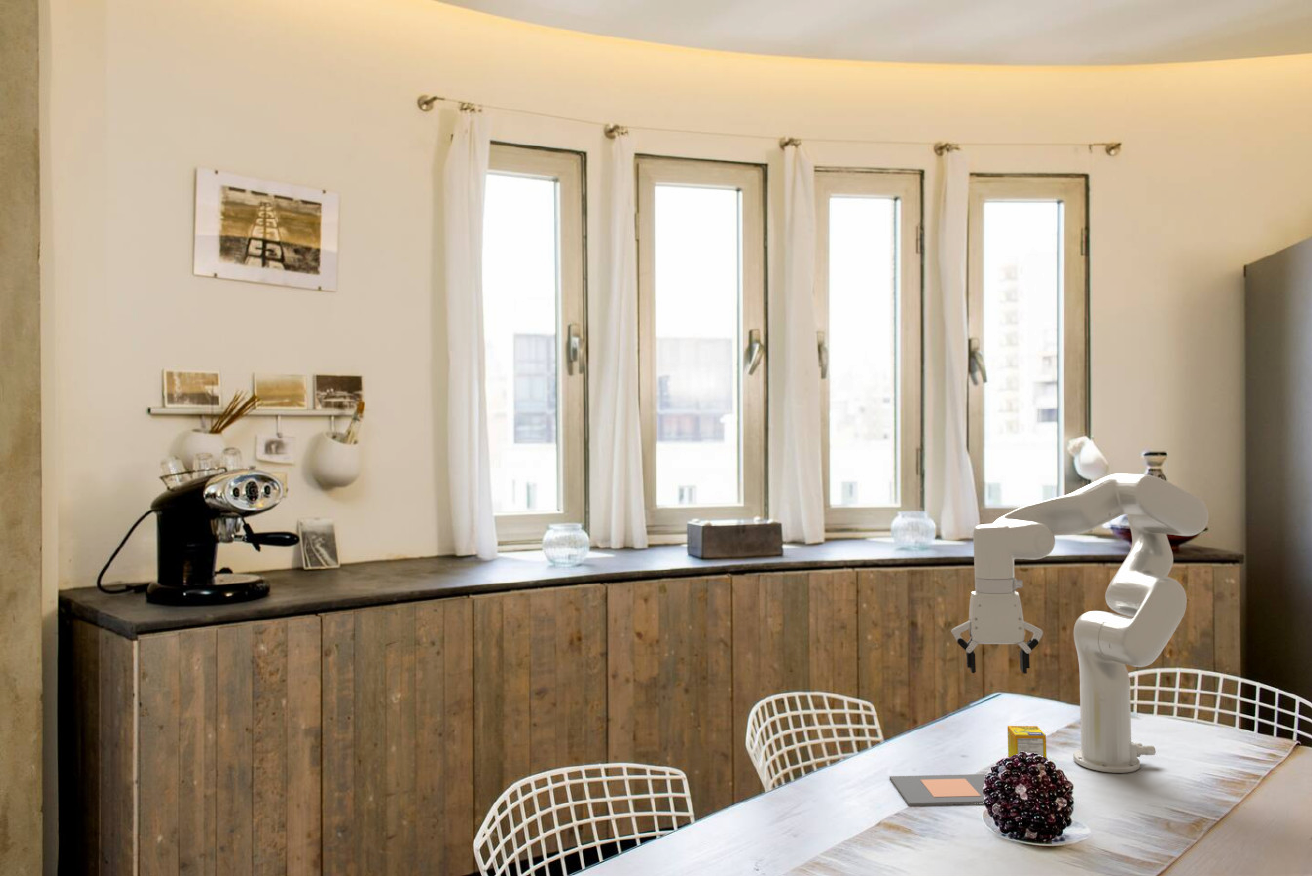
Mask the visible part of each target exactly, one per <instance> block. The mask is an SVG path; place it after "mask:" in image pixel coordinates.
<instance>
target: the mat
mask: <svg viewBox="0 0 1312 876" xmlns="http://www.w3.org/2000/svg"><path fill="white" fill-rule="evenodd" d="M985 774H986V773H983V774H982V773H981V774H980V773H979V774H978V773H976V774H975V773H974V774H935V775H934V774H933V775H893V776H892V775H891V776H890V775H889V780H890V781H891V783H892V784H893V786H894V787H895V788H896V790H897V791H898V793H899V794H900V796H901V797H902V798H903V800H904V801H905V803H906V805H908V807H910V806H912V807H917V806H920V807H921V806H922V807H923V806H948V805H949V806H951V805H952V806H954V805H953V804H966V805H980V804H979V803H983V802H984V795H983V787H984V776H985ZM972 803H973V804H972ZM974 803H976V804H974ZM977 803H978V804H977ZM947 804H948V805H947Z"/></svg>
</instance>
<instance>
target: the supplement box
mask: <svg viewBox="0 0 1312 876" xmlns="http://www.w3.org/2000/svg"><path fill="white" fill-rule="evenodd" d="M1021 751H1024V752H1027V753H1034V754H1038V755H1041V756H1043V757H1045V758H1047V735H1046V734H1045V732H1043V731H1042V729H1041V728H1040V727H1039V726H1037V725H1007V758H1008V757H1011V756H1013V755H1016V754H1018V753H1020V752H1021Z"/></svg>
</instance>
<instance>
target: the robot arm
mask: <svg viewBox="0 0 1312 876" xmlns="http://www.w3.org/2000/svg"><path fill="white" fill-rule="evenodd" d="M1123 515H1126V518H1127V521H1128V525H1129V528H1130V533H1131V540H1132V541H1131V547H1130V550H1129V553H1128V554H1127V556H1126V558H1125V559H1124V561H1123V562H1122V564H1120V565H1121V566H1120V567H1119V569H1118V570H1117V572H1116V573H1115V575H1114V576H1113V578H1112V579H1111V581H1110V583H1109V584H1108V586H1107V588H1106V590H1105V595H1104V599H1105V602H1106V605H1107V606H1108V608H1110V609H1111V610H1112V611H1114V612H1115V613H1114V612H1110V611H1109V612H1108V611H1104V610H1090V611H1086V612H1085V613H1082V614H1081V615H1079V616H1078V618H1077V619H1076V621H1075V623H1074V626H1073V641H1074V645H1075V649H1076V653H1077V654H1076V655H1077V659H1078V667H1079V669H1078V670H1079V700H1080V701H1079V703H1080V705H1079V707H1080V709H1079V711H1080V717H1079V718H1080V749H1077V750H1075V751H1074V752H1073V754H1072V755H1073V756H1072V757H1073V761H1074V762H1075V763H1076V764H1078V765H1080V766H1082V767H1084V768H1087V769H1090V770H1093V771H1098V772H1104V773H1111V774H1113V773H1114V774H1123V773H1126V774H1127V773H1132V772H1135V771H1138V770H1139V769H1140V767H1141V761H1140V759H1139V758H1140V757H1141V756H1155V755H1156V754H1157V753H1156V748H1155V746H1154V745H1143V744H1142V743H1141V742H1139V743H1137V742H1136V743H1135V742H1133V741H1132V722H1131V721H1132V720H1131V719H1132V714H1131V681H1130V679H1131V678H1130V676H1129V671H1128V669H1127V666H1131V667H1136V668H1143V667H1147V666H1150V665H1152V664H1153V663H1154V662H1156V660H1157V659H1158V658H1159V656H1160V655H1161V654H1162V652H1163V650H1164V649H1165V647H1166V646H1167V644H1168V642H1169V641H1170V639H1171V638H1172V637H1173V634H1174V633H1175V631H1176V629H1177V628H1178V627H1179V625H1180V623H1181V621H1182V620H1183V618H1184V616H1185V613H1186V609H1187V603H1188V601H1187V600H1188V599H1187V597H1188V596H1187V593H1186V591H1185V588H1184V587H1183V585H1182V584H1181V583H1180V582H1179V581H1177V580H1176V579H1174V578H1172V577H1170V576H1168V575H1169V574H1170V572H1171V569H1173V565H1174V554H1173V551H1172V548H1171V544H1170V541H1169V539H1168V535H1169V536H1170V535H1171V536H1172V535H1174V536H1181V537H1193V536H1196V535H1198V534H1200V533H1202V532H1203V531H1204V530H1205V528H1206V527H1207V526H1208V522H1209V515H1210V514H1209V510H1208V508H1207V506H1206V504H1205V503H1204V501H1203V500H1202V499H1201V498H1199V497H1198V496H1196V495H1195V494H1193V493H1191V492H1189V491H1188V490H1185V489H1183V488H1181V487H1178V486H1177V485H1175V484H1173V483H1172V482H1169V481H1167V480H1165V479H1163V478H1160V477H1159V476H1156V475H1153V474H1147V473H1146V474H1144V473H1126V472H1125V473H1121V472H1118V473H1112V474H1109V475H1106V476H1103V477H1101V478H1099V479H1098V480H1095V481H1093V482H1091V483H1089V484H1087V485H1085V486H1083V487H1080V488H1078V489H1076V490H1075V491H1073V492H1070V493H1068V494H1065V495H1061V496H1058V497H1053V498H1050V499H1047V500H1043V501H1040V502H1037V503H1032V504H1029V505H1026V506H1023V507H1019V508H1017V509H1014V510H1013V511H1010V512H1008V513H1006V514H1004V515H1001V516H1000V517H998V518H997V519H996V520H994V521H993V522H992V523H984V524H978V525H976V526H975V527H974V529H973V532H972V533H973V534H972V535H973V536H972V537H973V559H974V560H973V563H974V564H973V565H974V587H975V589H974V591H971V593H970V598H969V599H970V600H969V606H968V607H969V609H968V620H967V621H966V622H965V621H964V622H963V623H961V624H958V625H957V626H955V627H953V628H951V630H950V631H951V634H952V636H953V637H954V639H955V641H956V642H957V645H959V646H960V647H961V648H962V649H963V650H964V651H965V652H966V667H967V668H968V669H970V671H971V673H972V674H975V673H976V672H977V671H976V669H977V668H976V665H977V663H976V653H975V651H974V650H975V649H976V648H977V647H978V645H979V644H980V645H1017V646H1019V647H1020V651H1019V665H1020V666H1019V667H1020V671H1021V673H1022V674H1025V675H1026V674H1028V673H1027V672H1028V669H1030V665H1031V663H1030V654H1031V653H1032V651H1033V650H1034V649H1035V648H1036V647H1037V646H1038V645H1039V642H1040V641H1041V639H1042V637H1043V635H1044V631H1043V630H1042V628H1039V627H1037V626H1035V625H1033V624H1031V623H1029V622H1027V621H1025V620H1024V613H1023V607H1022V601H1021V598H1020V594H1019V592H1018V591H1017V590H1018V588H1023V587H1024V586H1023V583H1024V582H1023V581H1024V580H1022V579H1021V580H1019V579H1017V578H1016V576H1015V560H1017V559H1018V560H1019V559H1020V560H1023V559H1024V560H1040V559H1043V558H1045V557H1048V556H1049V555H1050V554H1051V553H1052V552H1053V550H1054V548H1055V545H1056V537H1055V536H1071V535H1079V534H1084V533H1087V532H1090V531H1093V530H1094V529H1097V528H1099V527H1101V526H1102V525H1104V524H1106V523H1108V522H1111V521H1112V520H1115V519H1117V518H1118V517H1121V516H1123ZM1025 630H1026V631H1028V632H1029V633H1030V632H1031V633H1032V637H1031V638H1030V639H1029V640H1028V641H1027V642H1026V641H1025ZM965 631H969V632H968V633H969V637H970V638H969V640H968V641H966V640H965V639H963V637H962V635H961V633H963V632H965ZM1126 665H1127V666H1126Z"/></svg>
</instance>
